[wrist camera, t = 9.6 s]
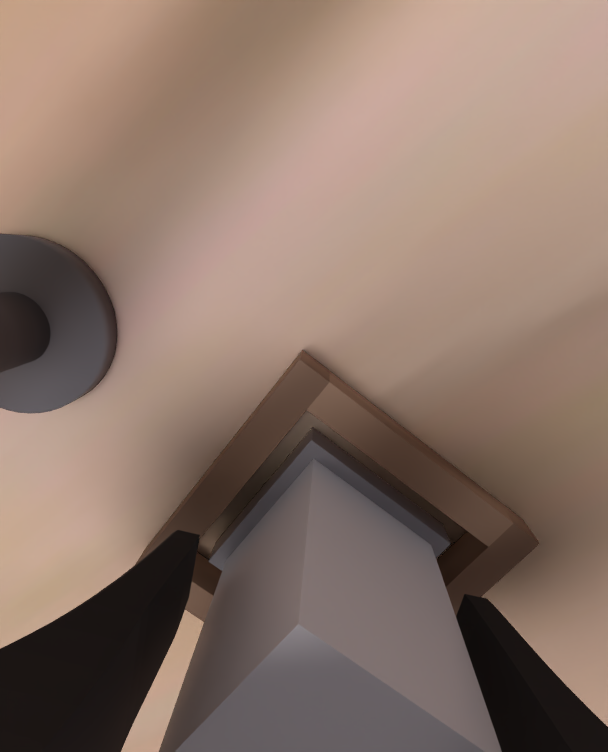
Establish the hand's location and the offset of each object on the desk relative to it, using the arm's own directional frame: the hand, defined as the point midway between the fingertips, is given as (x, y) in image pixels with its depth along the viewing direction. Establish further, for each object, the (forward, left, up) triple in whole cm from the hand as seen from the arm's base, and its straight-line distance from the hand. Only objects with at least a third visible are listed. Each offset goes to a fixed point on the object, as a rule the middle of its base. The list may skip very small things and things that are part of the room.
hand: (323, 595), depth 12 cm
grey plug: (0, 0, -3) cm, 3 cm away
